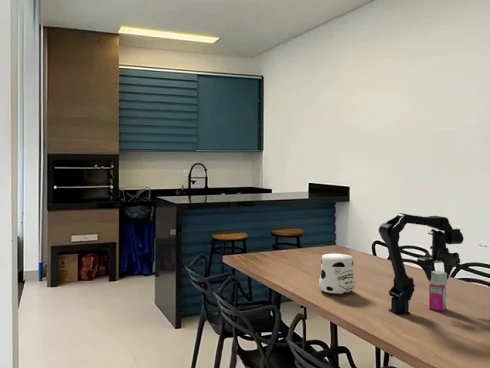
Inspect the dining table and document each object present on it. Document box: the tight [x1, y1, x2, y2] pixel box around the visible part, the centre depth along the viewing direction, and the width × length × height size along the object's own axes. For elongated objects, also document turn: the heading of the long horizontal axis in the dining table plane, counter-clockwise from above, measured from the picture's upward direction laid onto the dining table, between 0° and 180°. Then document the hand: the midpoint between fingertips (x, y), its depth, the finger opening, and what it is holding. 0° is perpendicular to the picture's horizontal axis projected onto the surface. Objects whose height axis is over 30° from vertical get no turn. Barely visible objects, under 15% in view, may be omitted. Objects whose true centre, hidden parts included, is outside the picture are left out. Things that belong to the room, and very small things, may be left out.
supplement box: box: [428, 283, 447, 313], centre depth 203 cm, size 6×6×12 cm
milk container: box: [318, 253, 356, 296], centre depth 228 cm, size 17×17×18 cm
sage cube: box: [429, 270, 448, 286], centre depth 203 cm, size 5×5×5 cm
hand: (438, 280), depth 203 cm, fingers open, 9 cm apart
